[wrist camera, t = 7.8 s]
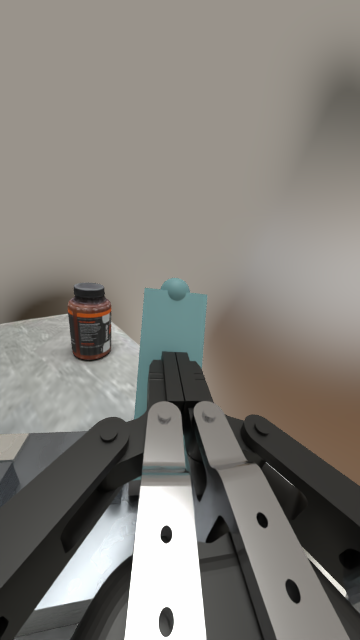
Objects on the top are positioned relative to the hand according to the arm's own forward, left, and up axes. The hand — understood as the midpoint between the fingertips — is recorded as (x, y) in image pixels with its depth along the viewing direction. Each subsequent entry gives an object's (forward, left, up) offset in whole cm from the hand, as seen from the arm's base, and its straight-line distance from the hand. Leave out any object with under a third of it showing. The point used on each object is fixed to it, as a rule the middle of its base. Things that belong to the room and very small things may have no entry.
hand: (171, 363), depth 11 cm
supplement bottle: (-10, +19, -13) cm, 25 cm away
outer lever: (0, -2, -7) cm, 8 cm away
